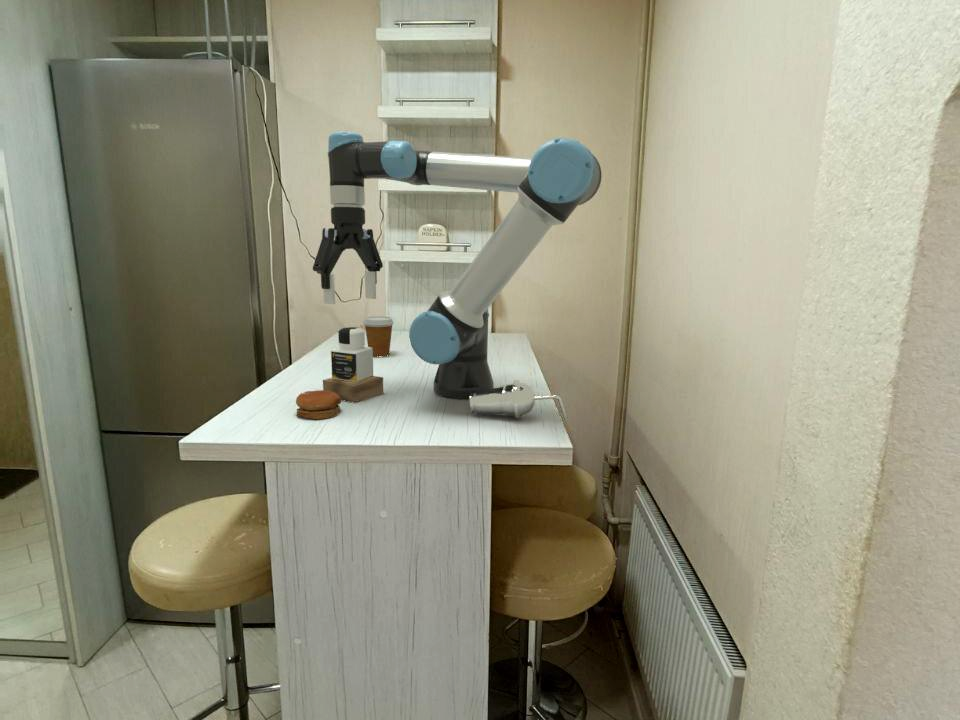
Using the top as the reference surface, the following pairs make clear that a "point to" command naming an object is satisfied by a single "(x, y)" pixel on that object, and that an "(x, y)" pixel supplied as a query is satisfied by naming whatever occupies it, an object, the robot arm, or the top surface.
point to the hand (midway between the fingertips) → (351, 301)
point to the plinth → (355, 388)
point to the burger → (318, 404)
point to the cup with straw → (508, 400)
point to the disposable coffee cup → (379, 334)
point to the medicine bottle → (352, 356)
